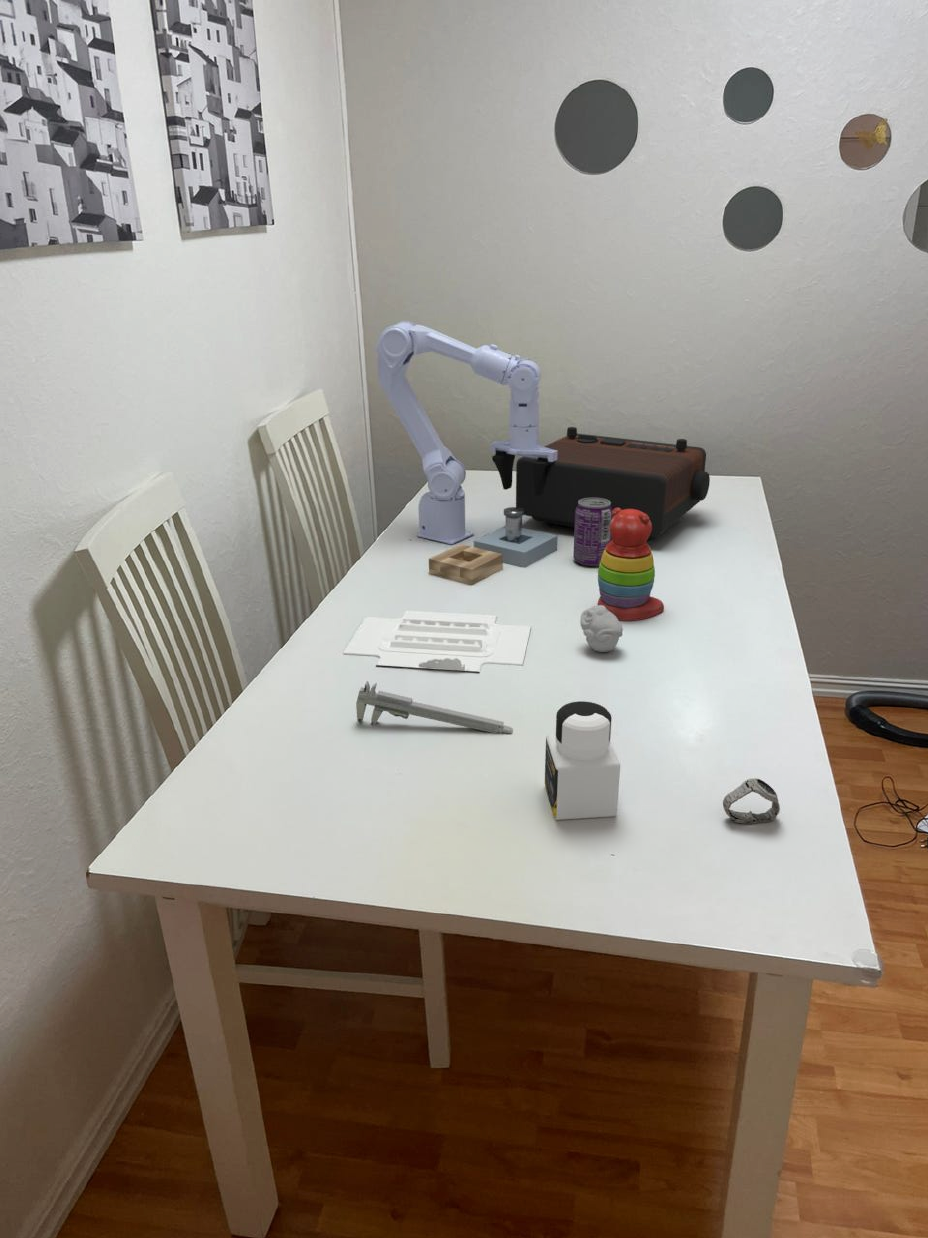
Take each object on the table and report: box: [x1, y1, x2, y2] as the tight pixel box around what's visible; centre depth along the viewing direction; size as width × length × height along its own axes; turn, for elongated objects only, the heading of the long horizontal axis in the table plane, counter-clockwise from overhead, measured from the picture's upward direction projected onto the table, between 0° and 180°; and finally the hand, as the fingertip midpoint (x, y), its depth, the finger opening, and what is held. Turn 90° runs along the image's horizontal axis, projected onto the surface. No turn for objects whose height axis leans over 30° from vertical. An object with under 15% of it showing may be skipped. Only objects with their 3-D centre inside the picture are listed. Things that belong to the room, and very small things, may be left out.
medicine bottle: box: [544, 700, 621, 821], centre depth 101 cm, size 7×7×12 cm
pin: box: [503, 506, 525, 544], centre depth 176 cm, size 4×4×8 cm
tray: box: [342, 610, 532, 673], centre depth 142 cm, size 20×28×4 cm
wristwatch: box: [722, 777, 781, 826], centre depth 99 cm, size 4×6×5 cm, turn 95°
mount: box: [428, 543, 504, 586], centre depth 169 cm, size 10×10×3 cm
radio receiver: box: [515, 426, 711, 541], centre depth 192 cm, size 35×27×18 cm
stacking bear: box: [596, 508, 665, 621], centre depth 149 cm, size 11×10×18 cm
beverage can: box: [572, 498, 613, 567], centre depth 171 cm, size 7×7×12 cm
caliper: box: [355, 680, 514, 735], centre depth 117 cm, size 21×1×6 cm, turn 82°
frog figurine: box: [579, 604, 624, 653], centre depth 137 cm, size 6×7×7 cm
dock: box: [473, 525, 558, 568], centre depth 179 cm, size 12×12×3 cm
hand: (523, 491), depth 182 cm, fingers open, 7 cm apart
